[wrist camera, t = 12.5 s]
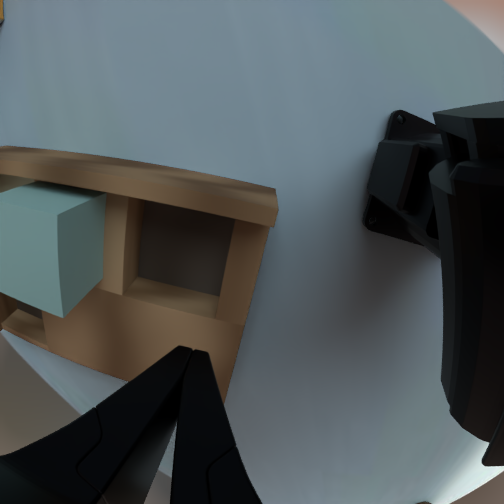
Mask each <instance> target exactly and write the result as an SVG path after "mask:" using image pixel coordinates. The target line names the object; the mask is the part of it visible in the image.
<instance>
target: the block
mask: <svg viewBox="0 0 504 504" xmlns="http://www.w3.org/2000/svg"><path fill="white" fill-rule="evenodd" d="M106 195H107V193H106V192H100V191H95V190H89V189H84V188H78V187H72V186H67V185H61V184H55V183H49V182H43V181H36V182H32V183H29V184H26V185H23V186H20V187H17V188H14V189H11V190H8V191H5V192H2V193H0V292H2V293H4V294H6V295H8V296H10V297H13V298H15V299H17V300H20V301H22V302H24V303H26V304H29V305H31V306H34V307H36V308H38V309H41V310H43V311H46V312H48V313H51V314H54V315H56V316H59V317H61V318H64V317H65V316H66V315H67V314H68V313H69V312H70V311H71V310H72V309H73V308H74V307H75V306H76V305H77V304H78V303H79V302H80V301H81V300H82V299H83V298H84V297H85V295H86V294H87V293H88V292H89V291H90V290H91V289H92V288H93V287H94V286H95V285H96V284H97V283H99V282H100V281H101V280H102V279H103V246H104V223H105V207H106Z"/></svg>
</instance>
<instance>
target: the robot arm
mask: <svg viewBox="0 0 504 504" xmlns="http://www.w3.org/2000/svg"><path fill="white" fill-rule="evenodd" d="M399 115H400V116H401V117H402V119H403V122H402V124H399V123H398V121H397V117H398V116H399ZM433 117H434V121H435V124H436V125H435V124H433V123H431V122H428V121H426V120H424V119H422V118H420V117H417V116H415V115H413V114H410V113H408V112H406V111H403V110H397V111H394V112H392V113H391V115H390V119H389V123H388V128H387V132H386V136H385V140H383V141H381V142H379V145H378V149H377V153H376V156H375V160H374V164H373V168H372V171H371V175H370V179H369V182H368V186H367V189H368V191H369V193H370V195H369V199H368V202H367V206H366V209H365V212H364V215H363V224H364V226H365V227H366V228H367V229H368V230H370V231H373V232H377V233H380V234H384V235H388V236H391V237H395V238H398V239H402V240H405V241H408V242H412V243H415V244H419V245H422V246H425V247H426V248H428V249H429V250H430V251H431V252H432V253H434V254H435V255H436V256H437V257H438V258H440V259H441V269H442V287H443V351H442V369H441V382H442V385H443V389H444V392H445V395H446V398H447V401H448V403H449V405H450V410H449V411H450V414H451V415H452V417H453V418H454V419H455V420H456V421H457V422H458V423H459V425H460V426H461V427H462V428H463V429H465V430H466V431H468V432H470V433H471V434H473V435H474V436H476V437H477V438H479V439H481V440H483V441H486V442H489V445H488V447H487V450H486V452H485V454H484V456H483V458H482V464H483V465H484V466H504V101H499V102H492V103H485V104H478V105H472V106H466V107H460V108H454V109H449V110H443V111H438V112H433ZM372 217H375V218H376V221H375V223H374V224H369V220H370V218H372ZM176 423H177V429H176V439H175V449H174V459H173V470H172V482H171V496H170V504H262V502H261V500H260V498H259V497H258V495H257V493H256V491H255V489H254V487H253V485H252V483H251V481H250V479H249V477H248V475H247V472H246V470H245V467H244V465H243V462H242V459H241V457H240V454H239V451H238V448H237V447H236V442H235V439H234V436H233V433H232V430H231V427H230V423H229V420H228V417H227V414H226V411H225V407H224V404H223V401H222V397H221V394H220V391H219V387H218V384H217V380H216V377H215V373H214V370H213V366H212V362H211V359H210V355H209V353H208V352H206V351H202V350H198V349H194V350H193V349H192V348H190V347H186V346H182V345H178V346H177V347H175V348H174V349H173V350H171V351H170V352H169V353H167V354H166V355H165V356H163V357H162V358H161V359H159V360H158V361H157V362H155V363H154V364H153V365H151V366H150V367H149V368H147V369H146V370H145V371H143V372H142V373H141V374H139V375H138V376H136V377H135V378H134V379H132V380H131V381H130V382H128V383H127V384H126V385H124V386H123V387H121V388H120V389H119V390H117V391H116V392H115V393H113V394H112V395H110V396H109V397H108V398H106V399H105V400H103V401H102V402H101V403H99V404H98V405H97V406H96V408H95V407H93V408H92V409H91V410H89V411H88V412H86V413H85V414H84V415H82V416H81V417H79V418H78V419H76V420H74V421H73V422H71V423H70V424H68V425H67V426H65V427H63V428H61V429H59V430H58V431H55V432H54V433H52V434H50V435H48V436H46V437H44V438H42V439H40V440H38V441H36V442H34V443H31V444H29V445H27V446H25V447H24V448H21V449H19V450H17V451H14V452H12V453H9V454H6V455H2V456H0V504H144V502H145V499H146V497H147V494H148V492H149V489H150V487H151V484H152V482H153V480H154V477H155V475H156V472H157V470H158V467H159V465H160V463H161V460H162V458H163V455H164V453H165V450H166V448H167V446H168V443H169V441H170V438H171V436H172V433H173V431H174V429H175V426H176Z"/></svg>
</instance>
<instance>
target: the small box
mask: <svg viewBox="0 0 504 504" xmlns="http://www.w3.org/2000/svg"><path fill="white" fill-rule="evenodd" d="M3 19H4V17H3V0H0V23H1V22H2V21H3Z"/></svg>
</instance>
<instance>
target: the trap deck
mask: <svg viewBox="0 0 504 504" xmlns="http://www.w3.org/2000/svg"><path fill="white" fill-rule="evenodd" d="M36 181H43V182H49V183H55V184H61V185H67V186H72V187H78V188H84V189H89V190H95V191H100V192H106V193H107V195H106V207H105V223H104V246H103V279H102V280H101V281H100V282H99V283H97V284H96V285H95V286H94V287H93V288H92V289H91V290H90V291H89V292H88V293H87V294H86V295H85V297H84V298H83V299H82V300H81V301H80V302H79V303H78V304H77V305H76V306H75V307H74V308H73V309H72V310H71V311H70V312H69V313H68V314H67V315H66V316H65V317H64V318H61V317H59V316H56V315H54V314H51V313H48V312H46V311H43V310H41V309H38V308H36V307H34V306H31V305H29V304H26V303H24V302H22V301H20V300H17V299H15V298H13V297H10V296H8V295H6V294H4V293H2V292H0V331H1V330H2V329H4V330H6V331H8V332H10V333H12V334H14V335H16V336H18V337H20V338H22V339H24V340H26V341H28V342H30V343H32V344H34V345H37V346H39V347H41V348H43V349H45V350H47V351H50V352H52V353H54V354H57V355H59V356H61V357H64V358H66V359H68V360H71V361H73V362H76V363H78V364H81V365H83V366H86V367H89V368H91V369H94V370H97V371H99V372H102V373H105V374H108V375H111V376H114V377H116V378H119V379H122V380H125V381H129V382H130V381H131V380H132V379H134V378H135V377H136V376H138V375H139V374H141V373H142V372H143V371H145V370H146V369H147V368H149V367H150V366H151V365H153V364H154V363H155V362H157V361H158V360H159V359H161V358H162V357H163V356H165V355H166V354H167V353H169V352H170V351H171V350H173V349H174V348H175V347H177V346H178V345H182V346H186V347H190V348H192V349H193V350H194V349H198V350H202V351H206V352H208V353H209V355H210V359H211V362H212V366H213V370H214V373H215V377H216V380H217V384H218V387H219V391H220V394H221V397H222V401H223V404H224V402H225V398H226V394H227V391H228V387H229V383H230V379H231V376H232V372H233V368H234V364H235V360H236V357H237V353H238V349H239V345H240V341H241V338H242V334H243V330H244V326H245V322H246V318H247V314H248V311H249V307H250V303H251V299H252V295H253V291H254V287H255V283H256V279H257V276H258V272H259V268H260V264H261V260H262V256H263V252H264V248H265V244H266V240H267V236H268V232H269V228H270V227H274V225H275V221H276V217H277V213H278V203H277V196H276V190H275V189H274V188H270V187H265V186H261V185H257V184H252V183H248V182H243V181H239V180H234V179H229V178H224V177H220V176H215V175H210V174H205V173H200V172H195V171H189V170H184V169H179V168H173V167H168V166H162V165H156V164H150V163H144V162H138V161H132V160H125V159H119V158H112V157H105V156H98V155H90V154H83V153H75V152H66V151H57V150H48V149H38V148H27V147H15V146H1V147H0V193H2V192H5V191H8V190H11V189H14V188H17V187H20V186H23V185H26V184H29V183H32V182H36Z"/></svg>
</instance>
